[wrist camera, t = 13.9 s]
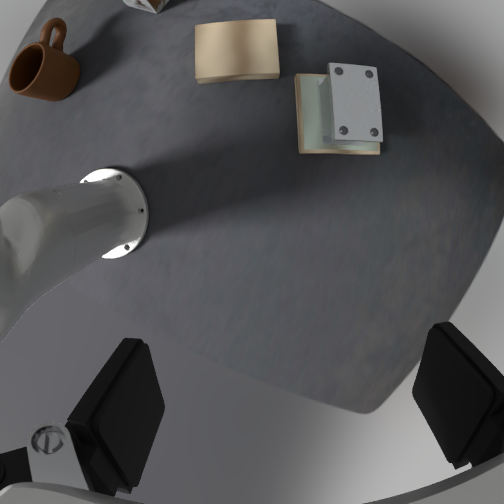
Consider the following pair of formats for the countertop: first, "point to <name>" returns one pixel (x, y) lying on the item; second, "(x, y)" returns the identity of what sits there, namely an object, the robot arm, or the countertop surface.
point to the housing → (349, 105)
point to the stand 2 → (311, 123)
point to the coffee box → (147, 5)
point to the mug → (45, 67)
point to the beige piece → (236, 51)
